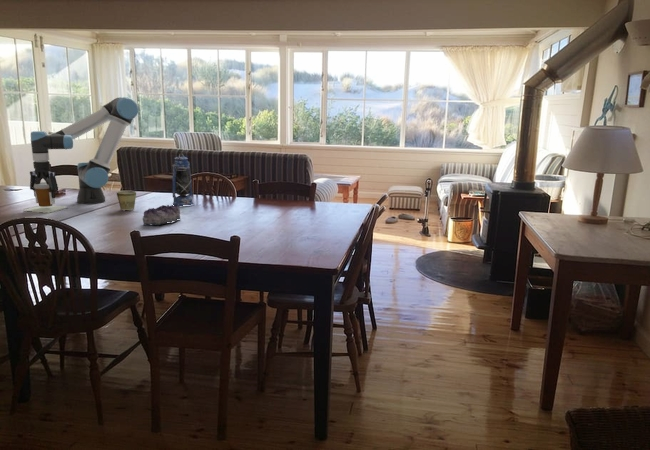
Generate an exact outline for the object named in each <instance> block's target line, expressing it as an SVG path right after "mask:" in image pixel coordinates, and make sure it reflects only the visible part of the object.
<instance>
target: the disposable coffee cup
mask: <svg viewBox="0 0 650 450" xmlns="http://www.w3.org/2000/svg"><path fill="white" fill-rule="evenodd" d="M34 188H35V191H36V196H37V199H38V203H37V204H38V206H40V207H48V206H53V204H50V196H49V192H50V189H49V184H47V183H46V181H45V182H40V184H34Z"/></svg>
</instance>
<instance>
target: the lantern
mask: <svg viewBox="0 0 650 450" xmlns="http://www.w3.org/2000/svg"><path fill="white" fill-rule="evenodd" d="M181 155H182V156H181ZM174 159H175V160H174V163H173V164H172V165H171V166H172V198H173V201H172V204H173V205H174V204H175V205H176V204H177V205H178V206H183V205H191V204H194V202H193V198H192V197H191V196H192V195H193V189H192V188H193V187H192V175H191V165H190V164H191V162H190V161H188V159H189V158H188V157H186V156H184V153H179V154H178V156H175V157H174ZM176 195H178V196H176Z"/></svg>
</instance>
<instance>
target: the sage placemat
mask: <svg viewBox="0 0 650 450" xmlns="http://www.w3.org/2000/svg"><path fill="white" fill-rule="evenodd" d="M65 209H69V206H64V205H63V206H62V205H61V206H60V205H52V206H48V207H40V206H39V205H37V206H35V207H29V208H27V209H23V210H22V211H23V212H27V211H32V212H31V213H39V212H43V213H42V214H50V212H51V213H54V211H55V212H58V211H61V210H65Z"/></svg>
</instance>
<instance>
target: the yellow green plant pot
mask: <svg viewBox="0 0 650 450" xmlns="http://www.w3.org/2000/svg"><path fill="white" fill-rule="evenodd" d="M116 196H117V199H118V204H119V207H120V211H122V210H132V211H134V210H135V206H136V197H137V191H135V190H119V191H116ZM133 209H134V210H133Z"/></svg>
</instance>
